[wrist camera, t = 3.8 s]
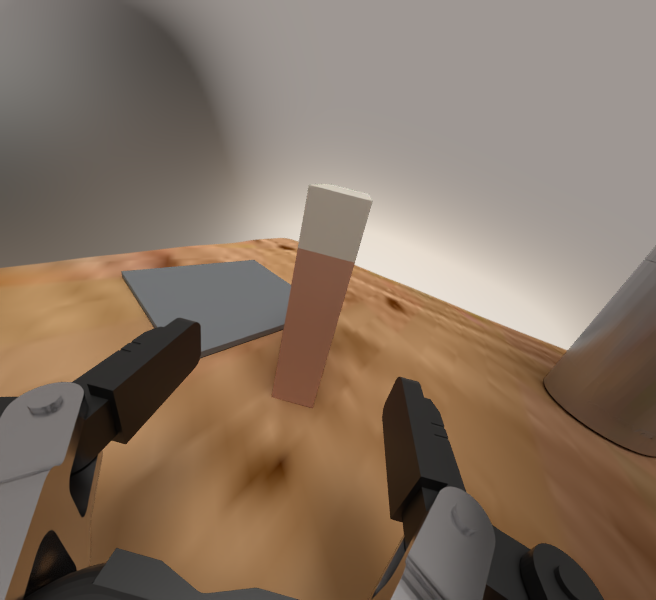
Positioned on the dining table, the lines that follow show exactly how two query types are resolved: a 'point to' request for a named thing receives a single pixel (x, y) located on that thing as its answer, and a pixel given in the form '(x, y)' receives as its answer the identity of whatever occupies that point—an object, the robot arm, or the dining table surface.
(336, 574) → the dining table surface
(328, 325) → the block
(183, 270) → the mat
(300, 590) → the dining table surface
